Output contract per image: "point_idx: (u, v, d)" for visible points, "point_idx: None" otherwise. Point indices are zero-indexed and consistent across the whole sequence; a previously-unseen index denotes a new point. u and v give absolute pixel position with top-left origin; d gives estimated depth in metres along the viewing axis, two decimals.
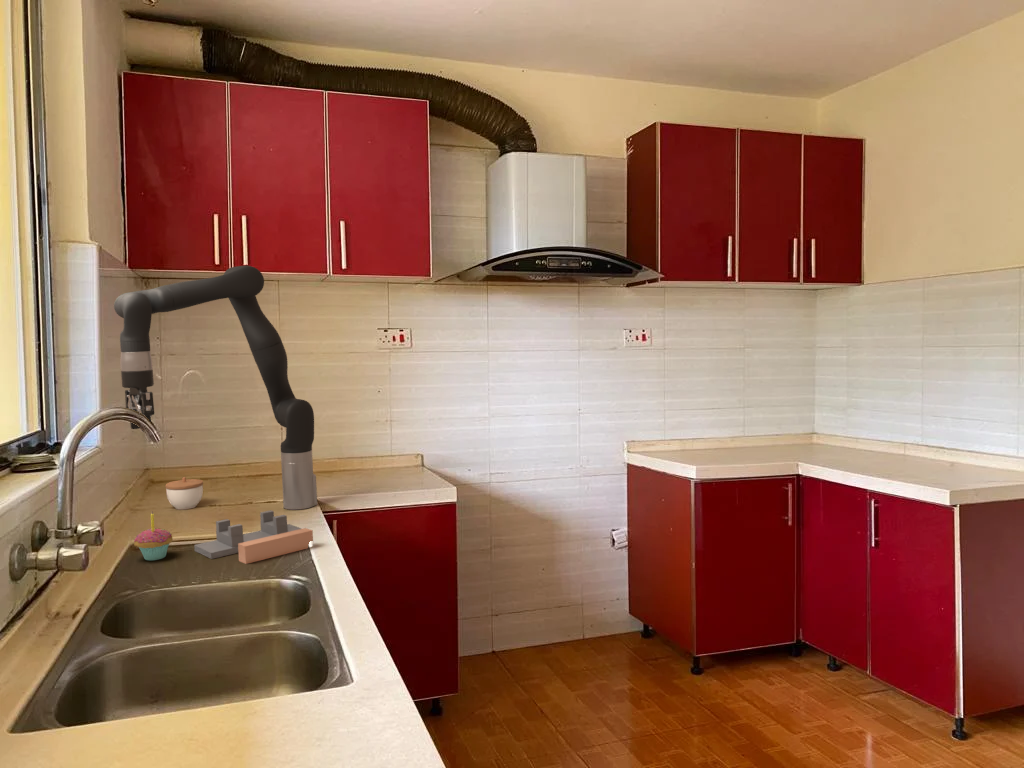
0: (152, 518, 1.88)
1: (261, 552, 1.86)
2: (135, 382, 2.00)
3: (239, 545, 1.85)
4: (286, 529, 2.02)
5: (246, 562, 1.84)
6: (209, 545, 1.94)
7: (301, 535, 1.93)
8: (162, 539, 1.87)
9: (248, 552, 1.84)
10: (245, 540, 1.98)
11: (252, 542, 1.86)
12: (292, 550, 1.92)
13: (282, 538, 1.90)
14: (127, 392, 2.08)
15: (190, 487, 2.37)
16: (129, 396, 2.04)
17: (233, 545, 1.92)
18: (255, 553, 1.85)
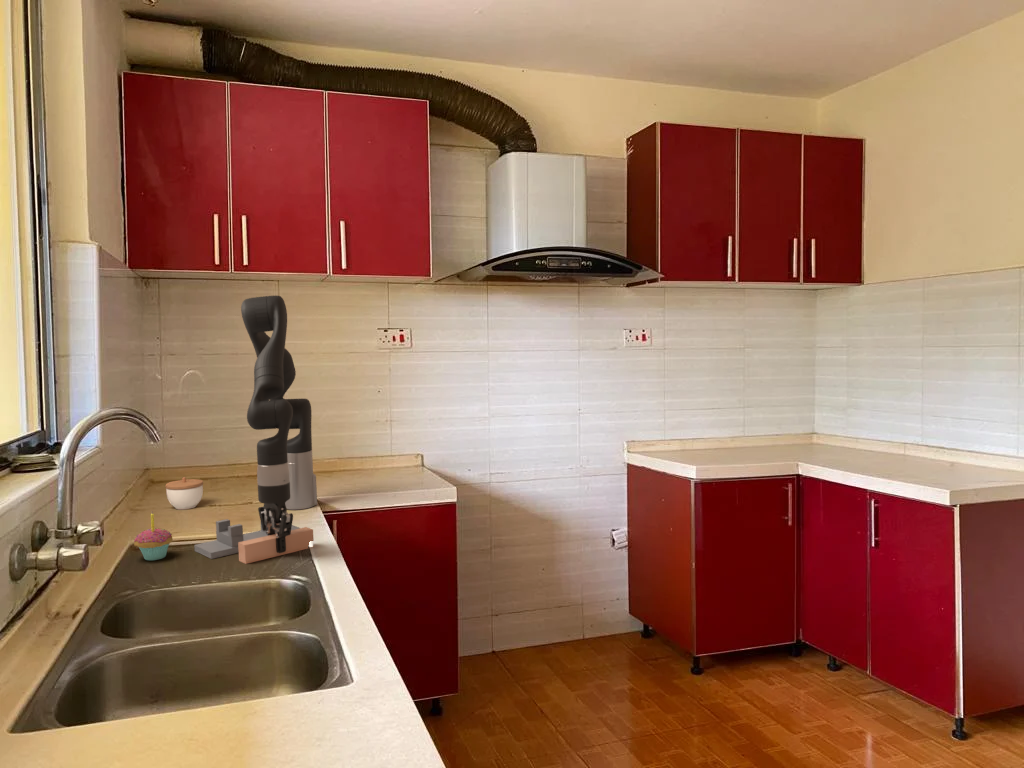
0: (152, 518, 1.88)
1: (261, 551, 1.86)
2: (274, 497, 1.86)
3: (239, 544, 1.85)
4: (286, 529, 2.02)
5: (246, 561, 1.84)
6: (209, 545, 1.94)
7: (301, 534, 1.93)
8: (162, 539, 1.87)
9: (248, 551, 1.84)
10: (245, 540, 1.98)
11: (252, 541, 1.86)
12: (292, 549, 1.92)
13: None
14: (261, 509, 1.93)
15: (190, 487, 2.37)
16: (265, 510, 1.90)
17: (233, 545, 1.92)
18: (255, 552, 1.85)
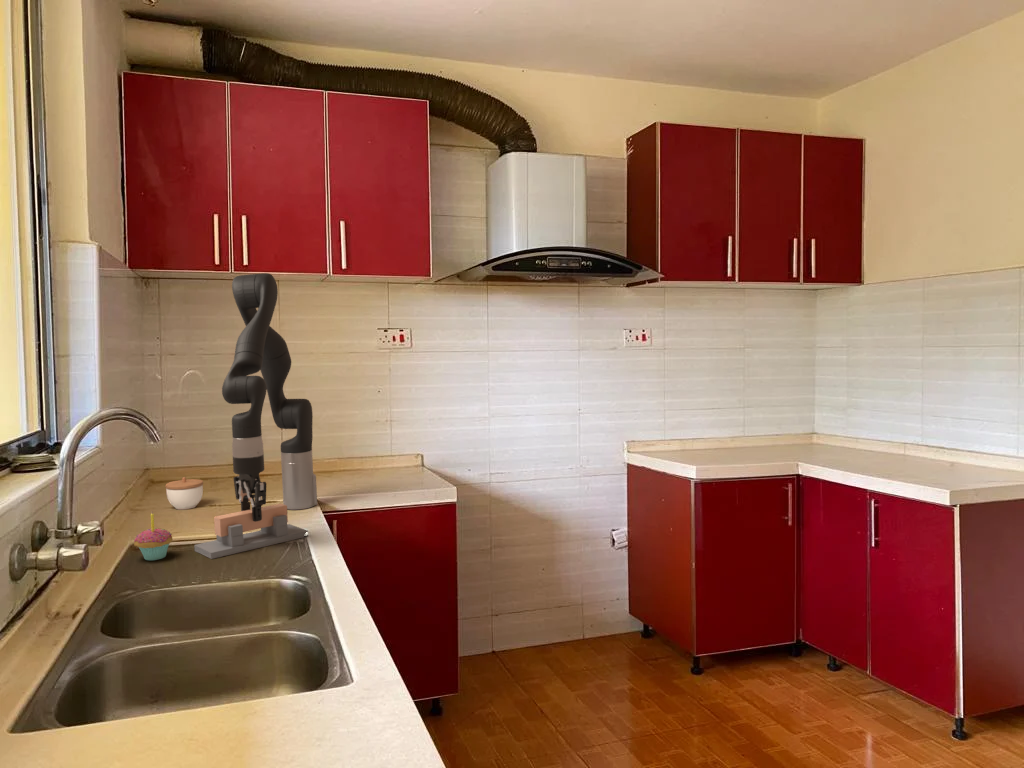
0: (152, 518, 1.88)
1: None
2: (248, 469, 1.95)
3: (215, 518, 1.94)
4: (286, 529, 2.02)
5: (221, 534, 1.93)
6: (209, 545, 1.94)
7: (275, 509, 2.02)
8: (162, 539, 1.87)
9: (223, 525, 1.93)
10: (245, 540, 1.98)
11: (227, 515, 1.95)
12: (267, 524, 2.01)
13: None
14: (236, 478, 2.02)
15: (190, 487, 2.37)
16: (240, 482, 1.98)
17: (233, 545, 1.92)
18: (230, 525, 1.94)
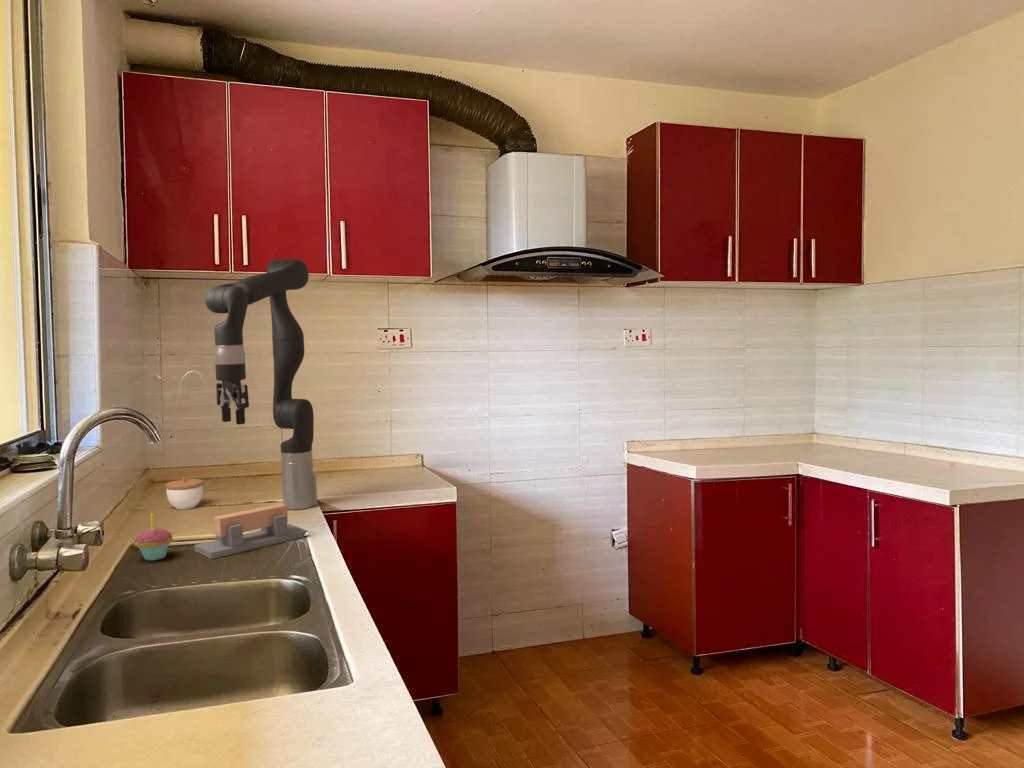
0: (152, 518, 1.88)
1: None
2: (229, 375, 2.03)
3: (215, 518, 1.94)
4: (286, 529, 2.02)
5: (221, 534, 1.93)
6: (209, 545, 1.94)
7: (275, 509, 2.02)
8: (162, 539, 1.87)
9: (223, 525, 1.93)
10: (245, 540, 1.98)
11: (227, 515, 1.95)
12: (267, 524, 2.01)
13: (257, 512, 1.99)
14: (219, 385, 2.10)
15: (190, 487, 2.37)
16: (222, 389, 2.06)
17: (233, 545, 1.92)
18: (230, 525, 1.94)
